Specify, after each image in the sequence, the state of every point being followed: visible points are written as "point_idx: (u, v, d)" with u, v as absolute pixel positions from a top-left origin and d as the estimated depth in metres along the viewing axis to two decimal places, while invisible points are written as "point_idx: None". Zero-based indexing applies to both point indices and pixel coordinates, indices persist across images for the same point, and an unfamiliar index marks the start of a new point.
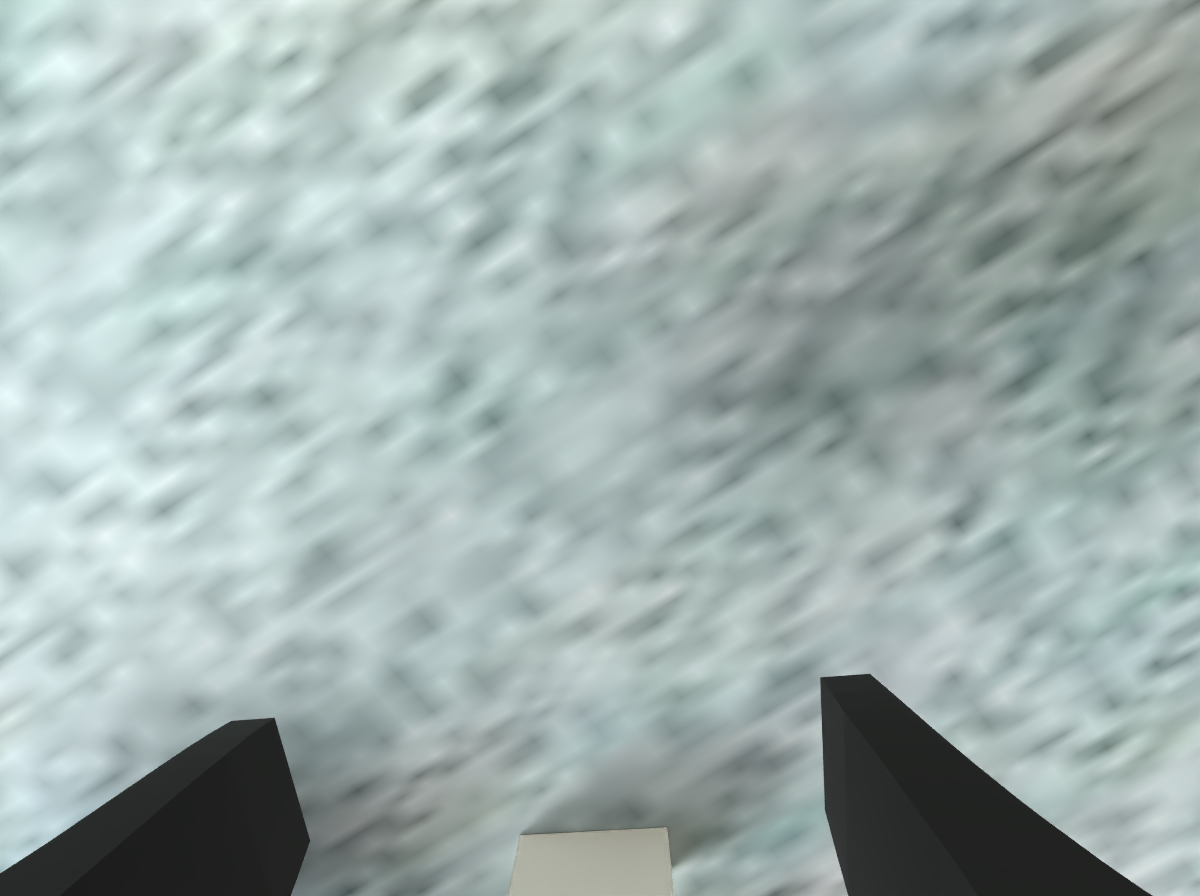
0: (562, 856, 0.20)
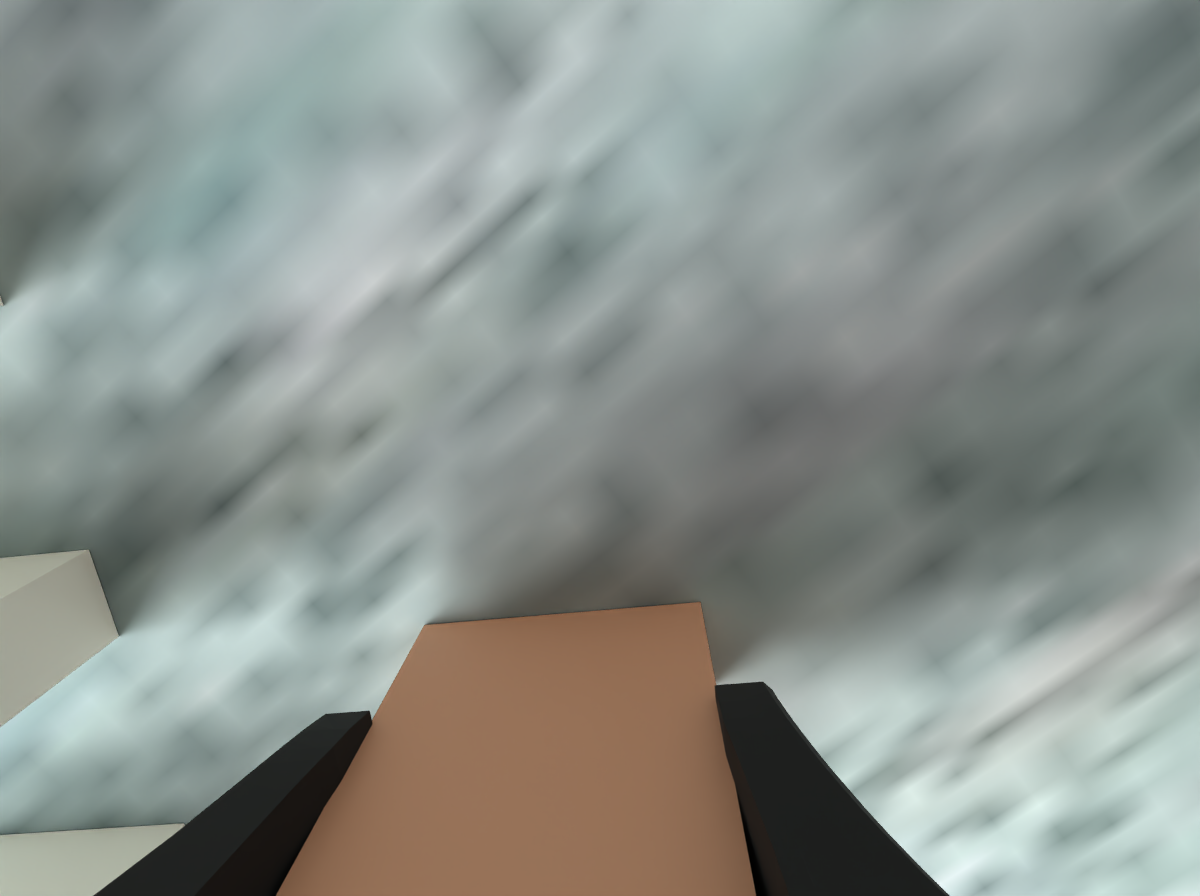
0: None
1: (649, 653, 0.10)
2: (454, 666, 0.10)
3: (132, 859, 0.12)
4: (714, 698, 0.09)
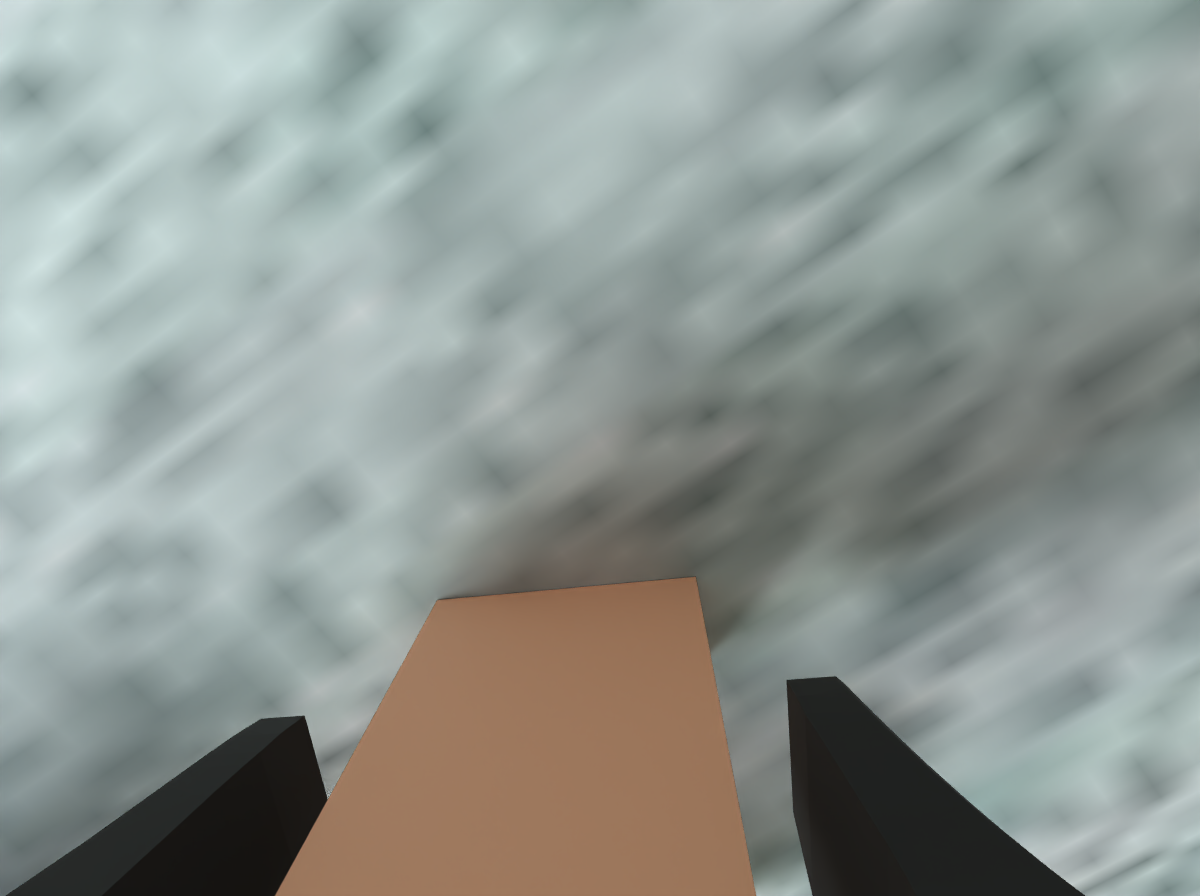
0: None
1: (647, 622, 0.11)
2: (466, 635, 0.11)
3: None
4: (707, 659, 0.09)
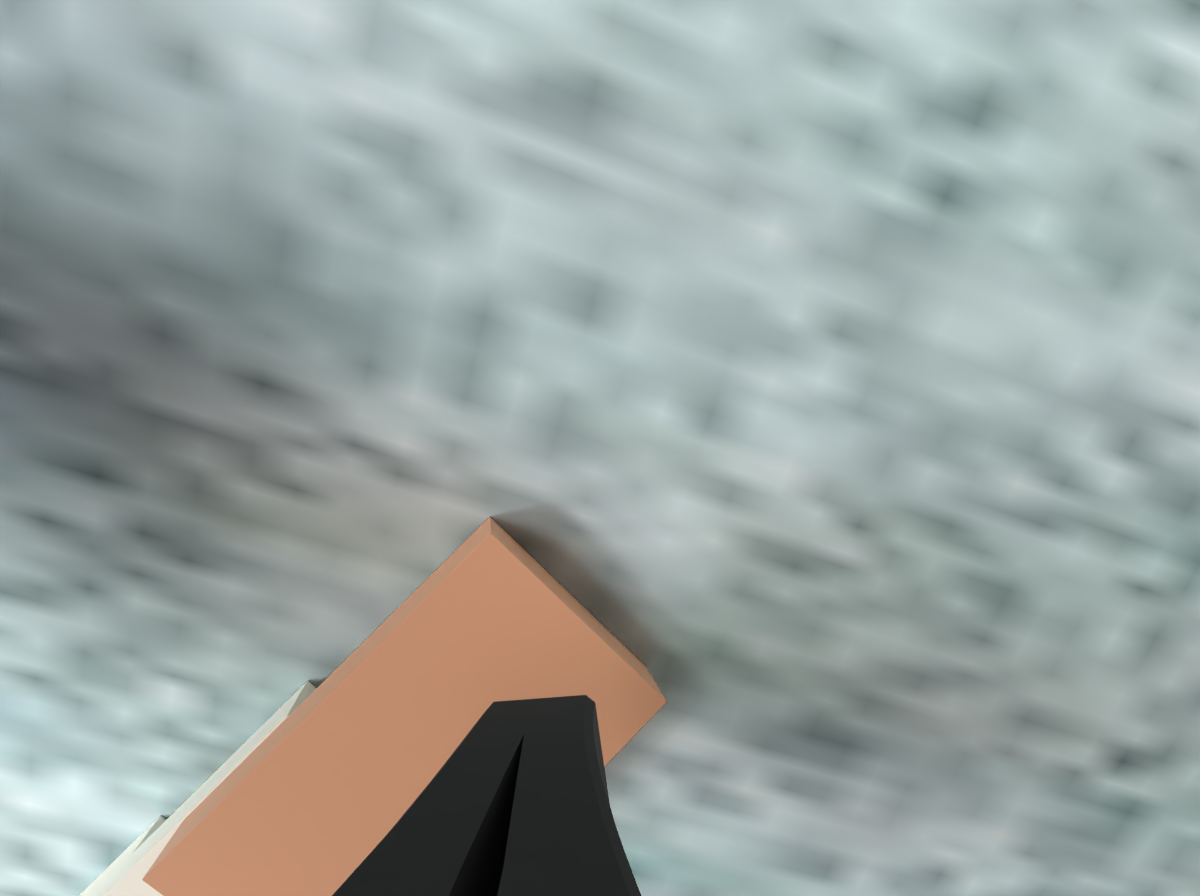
0: None
1: None
2: (472, 618, 0.12)
3: None
4: None
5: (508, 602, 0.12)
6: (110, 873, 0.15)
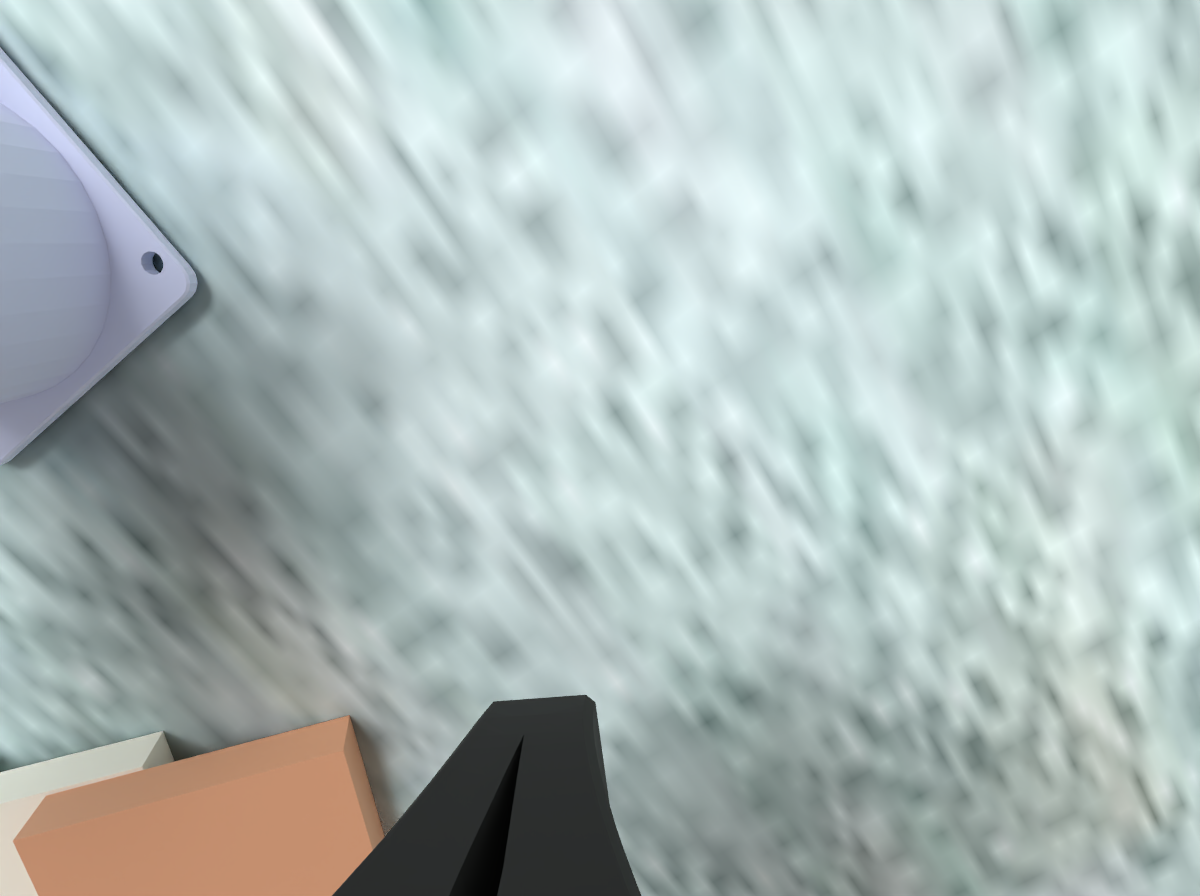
0: None
1: (326, 872, 0.20)
2: (302, 789, 0.19)
3: None
4: None
5: (328, 790, 0.19)
6: None
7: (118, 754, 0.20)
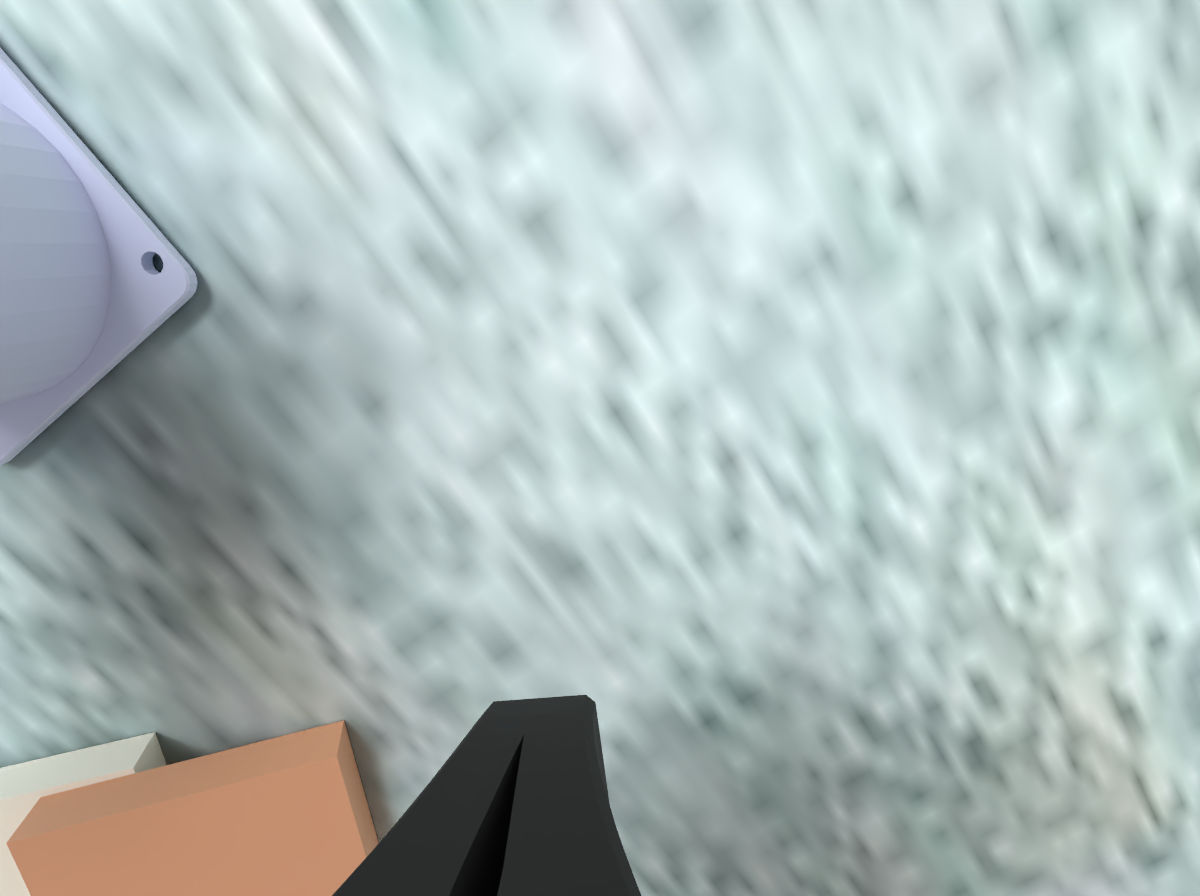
0: None
1: (319, 876, 0.20)
2: (295, 794, 0.19)
3: None
4: None
5: (321, 795, 0.19)
6: None
7: (110, 754, 0.20)
